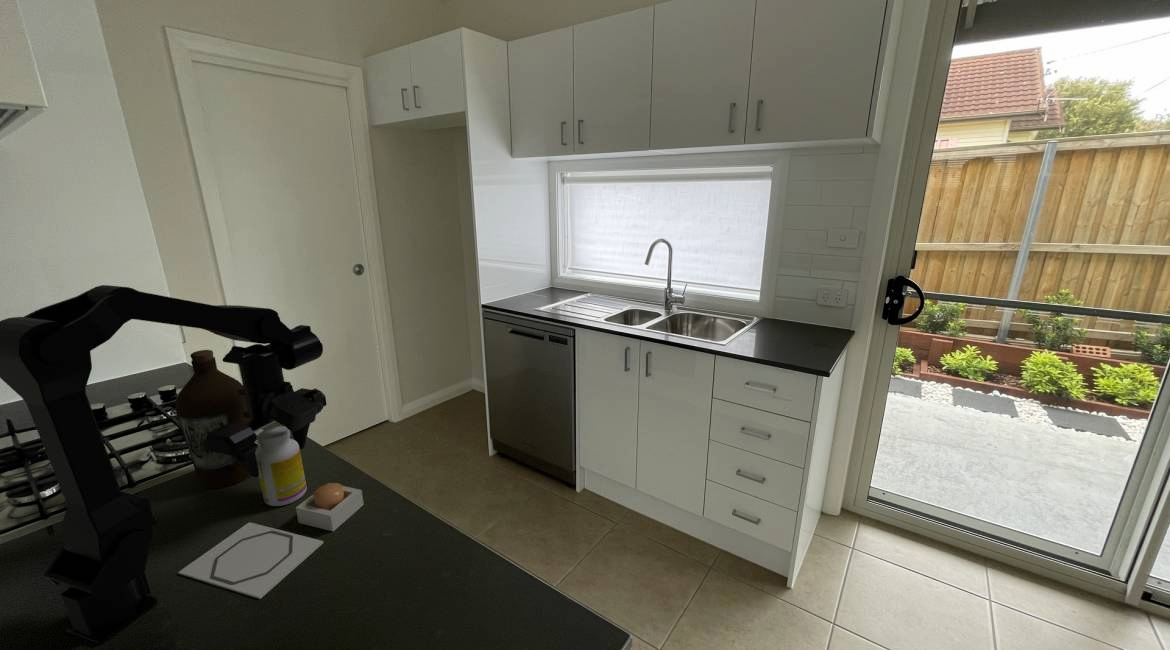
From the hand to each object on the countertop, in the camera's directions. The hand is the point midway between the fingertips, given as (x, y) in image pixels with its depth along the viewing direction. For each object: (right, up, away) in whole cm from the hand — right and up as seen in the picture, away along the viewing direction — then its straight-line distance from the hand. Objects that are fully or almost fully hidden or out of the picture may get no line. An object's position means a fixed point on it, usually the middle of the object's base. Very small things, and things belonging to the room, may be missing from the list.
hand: (279, 461), depth 83 cm
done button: (+11, -6, -3) cm, 13 cm away
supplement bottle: (0, -7, +2) cm, 7 cm away
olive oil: (-15, -5, +8) cm, 18 cm away
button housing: (+11, -8, -2) cm, 14 cm away
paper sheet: (+4, -11, -12) cm, 17 cm away
